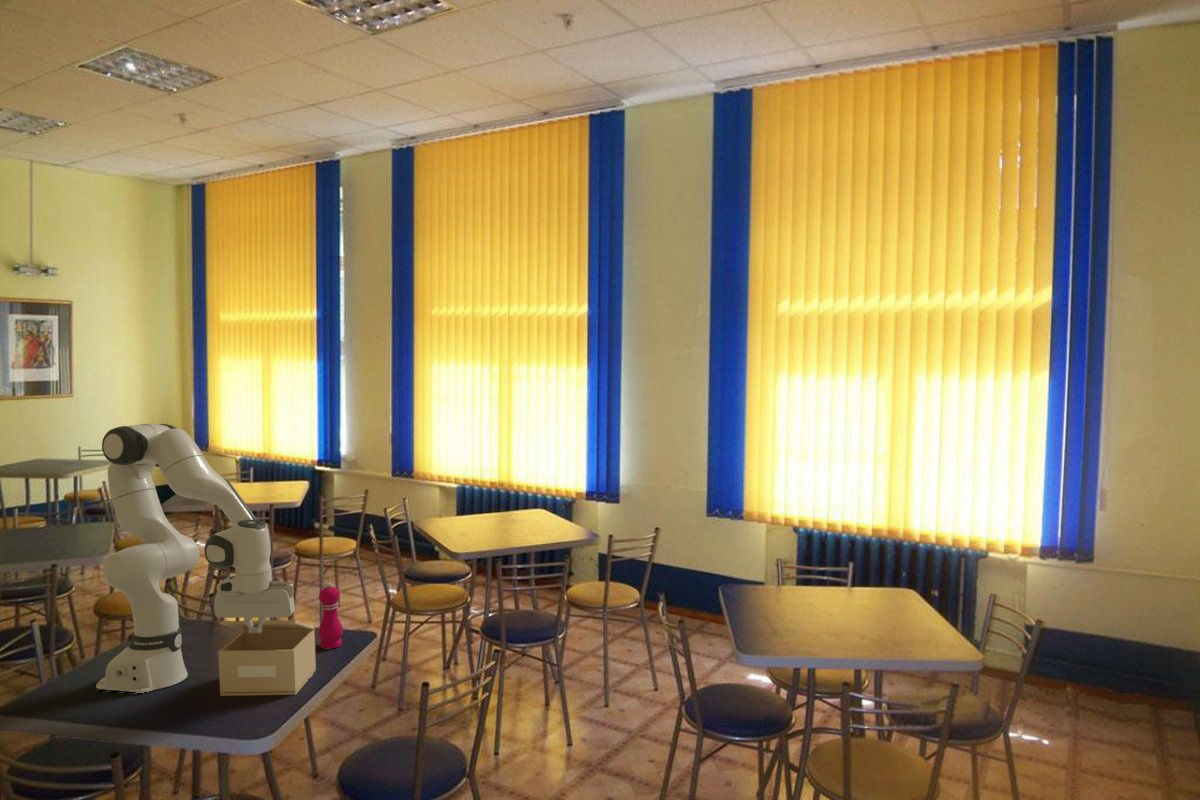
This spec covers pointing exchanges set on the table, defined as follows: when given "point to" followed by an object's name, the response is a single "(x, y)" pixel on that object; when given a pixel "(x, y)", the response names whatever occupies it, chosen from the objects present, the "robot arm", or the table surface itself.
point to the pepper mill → (330, 618)
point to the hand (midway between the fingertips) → (255, 632)
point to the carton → (267, 663)
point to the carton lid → (270, 625)
